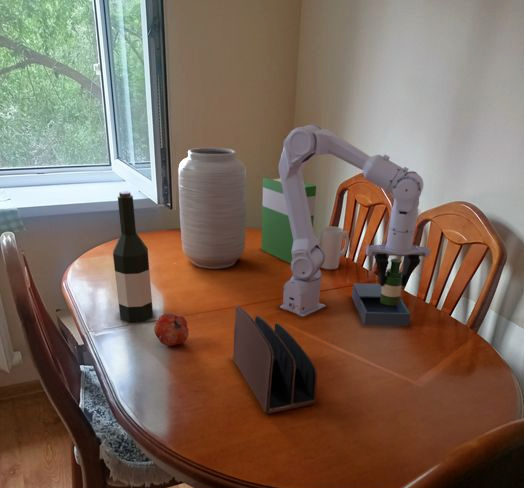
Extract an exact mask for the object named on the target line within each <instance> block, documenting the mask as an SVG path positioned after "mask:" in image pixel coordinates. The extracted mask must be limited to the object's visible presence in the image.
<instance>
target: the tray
mask: <svg viewBox="0 0 524 488" xmlns="http://www.w3.org/2000/svg"><path fill="white" fill-rule="evenodd" d="M351 298H352V300H353V303H354V305H355V308H356V310H357V311H358V312H357V313H358V314H359V317H360V319H361V321H362V323H363V326H390V327H393V326H396V327H397V326H398V327H409V325H410V322H411V321H410V320H411V315H412V314H411V312H410V310H409V309H408V307H407V305H406V304H405V303H404V301H403V300H402V298H400V300H399V304H397V305H385V304H383V303H381V302H380V298H370V297H359V295H358V293H357V291H356V288H355V286H354V285H352V292H351Z"/></svg>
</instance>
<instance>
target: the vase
mask: <svg viewBox="0 0 524 488" xmlns="http://www.w3.org/2000/svg"><path fill="white" fill-rule="evenodd" d="M247 186H248V185H247V167H246V164H245V163H244V162H243V160H241V159H239V158H238V157H237V151H236V150H234V149H231V148H226V147H225V148H224V147H195V148H190V149H188V151H187V157H185V158H184V159H182V160H181V162H179V166H178V201H179V223H180V224H179V225H180V238H181V239H180V240H181V248H182V252H183V253H184V255H185V257H186V258H187V259H189V260H190V261H191V263H192V264H193V265H194V266H196V267H198V268H203V269H210V270H218V269H225V268H229V267H232V266H233V265H235V264H236V263H237V261H238V260H239V259H240V258H241V257H242V256H243V254H244V252H245V250H246V249H245V248H246V237H247V235H246V233H247V188H248V187H247Z"/></svg>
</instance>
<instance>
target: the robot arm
mask: <svg viewBox="0 0 524 488" xmlns="http://www.w3.org/2000/svg"><path fill="white" fill-rule="evenodd" d="M321 155H332V156H333V157H336V158H338V159H340V160H341V161H344V162H346V163H347V164H348V165H349V164H350V165H351V166H354V167H355V168H358V169H359V170H361V171H362V174H363V177H364V180H366V181H368V182H370V183H372V184H374V185H375V186H377V187H379V188H380V189H382V190H384V191H385V192H387V193H392V196H393V204H392V207H391V213H390V219H389V224H388V231H387V237H386V243H385V244H383V243H382V244H376V245H375V244H372V245H366V247H365V255H366V256H367V257H372V256H373V257H374V260H375V264H376V267H377V272H378V284H380V285H381V286H384V283H385V274H386V272H387V269H388V266H389V263H390V261H389V260H388V256H389V257H390V256H392V257H403V264H402V265H403V266H402V270H401V271H402V274H403V275H404V277H403V283H402V287H406V286H407V284H408V281H409V279H410V277H411V275H412V274H413V272H414V271H415V270H416V268H417V267H418V266H419V265H420V263H421V258H420V257H423V258H430V256H431V251H432V249H430V247H429V246H422V245H421V246H419V245H413V241H414V238H415V237H414V236H415V231H416V226H417V219H418V216H419V215H418V214H419V206H420V197H421V195H422V192H423V190H424V180H423V178H422V176H421V175H420V174H418V172H417V171H414V170H412V171H411V170H409V168H408V167H406V166H404V167H402V166H401V165H398V164H396V163H395V162H393V161H391V160H390V156H389V155H387V154H384V155H382V154H376V155H373V156H370V155H368V154H367V153H366V152H364V151H362V150H361V149H359V148H358V147H356V146H354V145H353V144H351V143H350V142H348V141H347V140H345V139H343V138H342V137H340V136H339V135H337V134H336V133H334V132H332V131H331V130H329V129H326V128H322V127H320V126H319V125H318V124H315V123H310V124H307V125H305V126H299V127H295V128H294V129H292V130H291V131H290V132H289V134H288V135H287V137H286V138H285V139H284V140H283V149H282V152H281V156H280V159H279V162H278V173H279V176H280V179H281V184H282V188H283V193H284V198H285V203H286V207H287V212H288V217H289V222H290V227H291V231H292V236H293V246H292V251H291V253H292V262H291V264H290V270H291V272H292V276H291V277H290V279H289V280H287V281H286V282H285V284H284V285H283V295H282V304H281V305H280V306H279V308H280V309H282V310H284V311H289V312H292V313H294V314H295V315H298V316H300V317H305V316H308V315H310V314H312V313H315V312H316V311H319V310H321V309H323V308H324V307H326V304H324V303H321V302H320V295H321V294H320V293H321V284H322V271H321V266H322V265H323V263H324V261H325V254H324V252H323V250H322V249H321V247H320V241H319V239H318V238H317V237H316V235H315V233H314V226H313V227H312V222H311V217H310V211H309V206H308V201H307V196H306V191H305V186H304V183H305V180H304V175H303V170H304V168H305V167H306V165H307V164H308V162H309V161H310V159H311V158H312V157H314V156H321Z"/></svg>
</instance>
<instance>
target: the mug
mask: <svg viewBox="0 0 524 488" xmlns="http://www.w3.org/2000/svg"><path fill="white" fill-rule="evenodd" d="M343 238H344V241H345V242H344V246H343V248H342V242H343ZM349 242H350V238H349V234H348V231H347V230H344V229H343V228H342V227H339V226H332V225H331V226H330V225H328V226H327V225H326V226H323V227H321V228H320V241H319V245H320V247H321V249H322V250H323V252H324V254H325V261H324V263H323V265H322V266H321V267H320V269H324V270H336V269H338V268H339V267H340V266H339V265H340V258H341V257H345V255H346V253H347V250H348V247H349Z"/></svg>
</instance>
